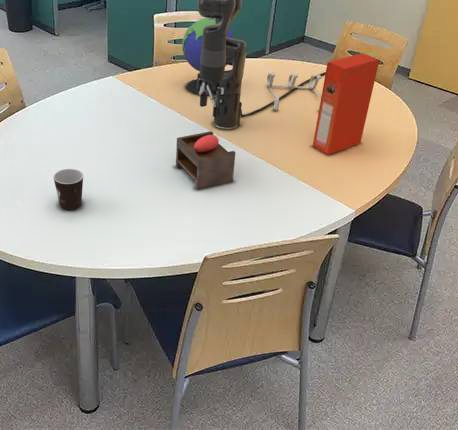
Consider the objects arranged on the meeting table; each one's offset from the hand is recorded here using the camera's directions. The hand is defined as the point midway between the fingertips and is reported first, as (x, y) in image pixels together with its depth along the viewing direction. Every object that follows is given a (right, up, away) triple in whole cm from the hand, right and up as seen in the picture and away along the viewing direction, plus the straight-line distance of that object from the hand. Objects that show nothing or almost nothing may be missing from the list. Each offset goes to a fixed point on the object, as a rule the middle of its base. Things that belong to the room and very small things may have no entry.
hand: (209, 111), depth 184 cm
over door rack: (+40, +17, +66) cm, 79 cm away
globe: (+2, +23, +72) cm, 75 cm away
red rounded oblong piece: (-1, -12, +6) cm, 13 cm away
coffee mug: (-42, -30, -8) cm, 53 cm away
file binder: (+49, -7, +32) cm, 59 cm away
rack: (-1, -19, +11) cm, 22 cm away
